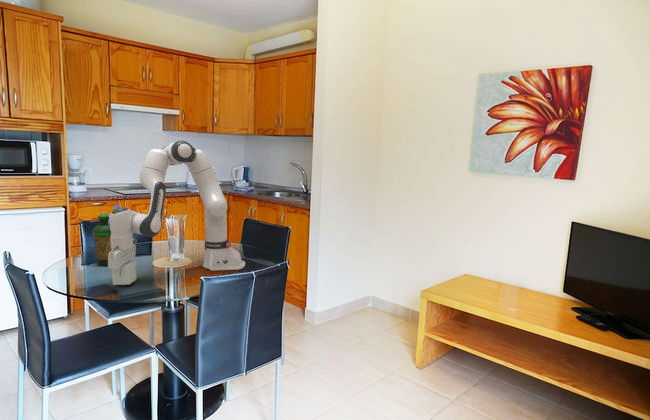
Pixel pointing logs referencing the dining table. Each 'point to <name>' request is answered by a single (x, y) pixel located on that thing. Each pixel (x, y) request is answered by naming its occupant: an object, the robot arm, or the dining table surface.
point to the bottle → (102, 239)
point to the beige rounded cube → (125, 274)
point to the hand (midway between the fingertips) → (122, 272)
